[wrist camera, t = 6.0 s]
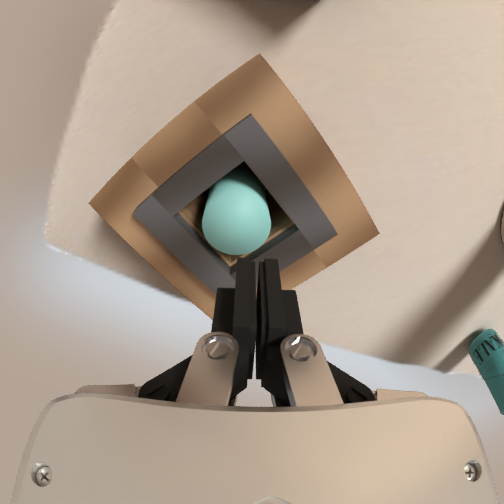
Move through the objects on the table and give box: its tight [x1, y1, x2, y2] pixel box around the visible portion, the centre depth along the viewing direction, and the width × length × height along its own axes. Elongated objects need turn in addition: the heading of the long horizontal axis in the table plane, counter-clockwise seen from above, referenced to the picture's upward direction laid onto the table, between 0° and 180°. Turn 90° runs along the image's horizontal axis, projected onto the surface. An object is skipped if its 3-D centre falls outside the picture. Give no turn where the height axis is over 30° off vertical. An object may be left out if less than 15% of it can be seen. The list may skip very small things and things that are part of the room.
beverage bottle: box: [469, 329, 504, 415], centre depth 32 cm, size 6×7×20 cm
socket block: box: [89, 54, 380, 320], centre depth 22 cm, size 14×14×9 cm
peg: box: [202, 161, 271, 255], centre depth 21 cm, size 4×4×9 cm
